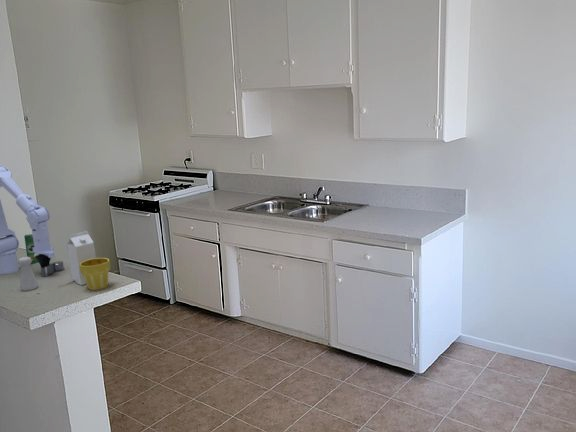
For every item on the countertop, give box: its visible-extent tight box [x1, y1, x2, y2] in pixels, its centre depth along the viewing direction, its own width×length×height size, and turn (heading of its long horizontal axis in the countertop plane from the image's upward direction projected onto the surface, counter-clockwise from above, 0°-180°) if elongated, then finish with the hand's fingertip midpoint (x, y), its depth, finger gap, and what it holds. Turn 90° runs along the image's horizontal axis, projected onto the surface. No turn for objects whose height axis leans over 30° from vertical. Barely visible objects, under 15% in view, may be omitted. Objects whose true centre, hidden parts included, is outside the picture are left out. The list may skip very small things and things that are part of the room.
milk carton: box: [66, 230, 97, 286], centre depth 203 cm, size 7×7×19 cm
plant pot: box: [79, 257, 111, 291], centre depth 196 cm, size 10×10×10 cm
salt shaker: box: [17, 256, 39, 292], centre depth 195 cm, size 6×6×13 cm
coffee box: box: [24, 233, 39, 265], centre depth 234 cm, size 8×3×13 cm, turn 110°
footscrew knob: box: [40, 260, 65, 278], centre depth 214 cm, size 11×5×4 cm, turn 168°
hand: (46, 272), depth 213 cm, fingers closed, pressing on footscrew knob
